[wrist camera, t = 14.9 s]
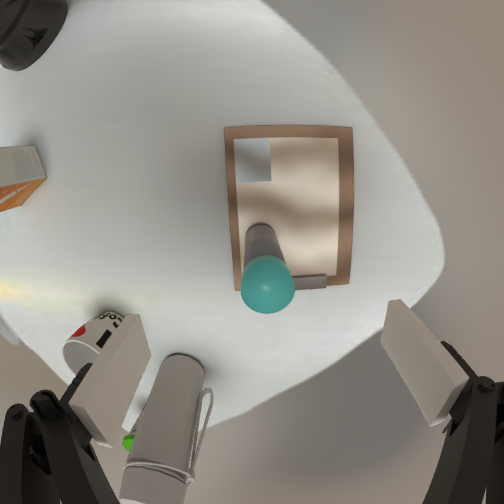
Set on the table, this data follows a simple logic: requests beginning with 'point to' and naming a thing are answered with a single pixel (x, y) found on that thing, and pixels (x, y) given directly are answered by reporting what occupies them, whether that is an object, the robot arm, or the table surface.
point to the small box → (19, 175)
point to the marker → (265, 271)
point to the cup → (89, 340)
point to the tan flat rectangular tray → (294, 197)
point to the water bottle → (167, 436)
